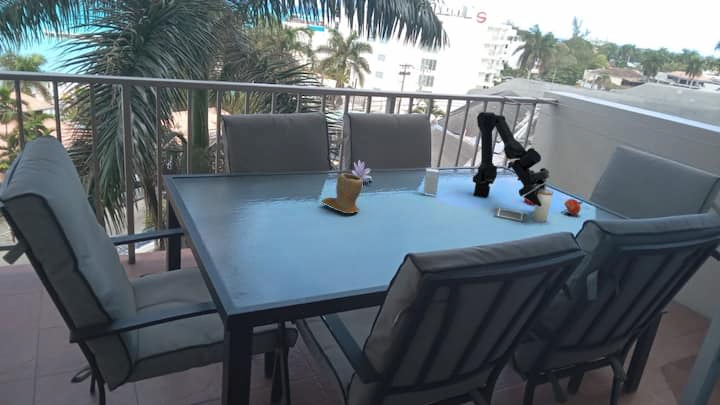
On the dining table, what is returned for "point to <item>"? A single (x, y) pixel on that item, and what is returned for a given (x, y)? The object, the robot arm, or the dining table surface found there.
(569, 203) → the pomegranate
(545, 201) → the tumbler
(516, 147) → the robot arm
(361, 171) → the water lily
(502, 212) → the mat
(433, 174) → the skincare box
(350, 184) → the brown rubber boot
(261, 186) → the dining table surface
